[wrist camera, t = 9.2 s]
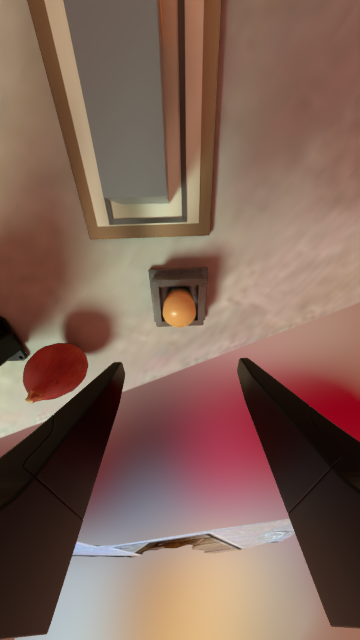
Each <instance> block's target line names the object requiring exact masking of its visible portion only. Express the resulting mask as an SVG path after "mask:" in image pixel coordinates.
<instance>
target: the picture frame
mask: <svg viewBox="0 0 360 640" xmlns="http://www.w3.org/2000/svg"><path fill="white" fill-rule="evenodd" d="M27 1H28V5H29V9H30V13H31V16H32V20H33V24H34V28H35V32H36V35H37V39H38V43H39V47H40V51H41V54H42V58H43V62H44V66H45V69H46V73H47V77H48V81H49V85H50V88H51V92H52V96H53V100H54V104H55V107H56V111H57V115H58V119H59V123H60V126H61V130H62V134H63V138H64V141H65V145H66V149H67V153H68V157H69V160H70V164H71V168H72V172H73V176H74V179H75V183H76V187H77V191H78V195H79V198H80V202H81V206H82V210H83V213H84V217H85V221H86V225H87V229H88V232H89V236H90V239H117V238H146V237H176V236H205V235H209V234H210V214H211V194H212V174H213V154H214V135H215V115H216V95H217V75H218V55H219V35H220V15H221V0H161V6H162V29H163V44H162V49H163V72H164V95H165V118H166V141H167V163H168V186H169V203H168V204H127V205H122V204H119V203H116V202H114V201H111V200H108V199H106V198H104V197H103V192H102V188H101V183H100V178H99V173H98V168H97V163H96V158H95V153H94V148H93V143H92V138H91V133H90V128H89V123H88V118H87V113H86V108H85V103H84V98H83V93H82V88H81V83H80V78H79V73H78V68H77V63H76V58H75V53H74V48H73V43H72V38H71V33H70V28H69V23H68V19H67V14H66V9H65V4H64V0H27Z"/></svg>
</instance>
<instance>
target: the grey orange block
mask: <svg viewBox="0 0 360 640" xmlns="http://www.w3.org/2000/svg"><path fill="white" fill-rule="evenodd" d="M64 4H65V9H66V14H67V19H68V23H69V28H70V33H71V38H72V43H73V48H74V53H75V58H76V63H77V68H78V73H79V78H80V83H81V88H82V93H83V98H84V103H85V108H86V113H87V118H88V123H89V128H90V133H91V138H92V143H93V148H94V153H95V158H96V163H97V168H98V173H99V178H100V183H101V188H102V192H103V197H104V198H106V199H108V200H111V201H114V202H116V203H119V204H122V205H127V204H168V203H169V186H168V163H167V141H166V118H165V95H164V72H163V49H162V44H163V29H162V6H161V0H64Z"/></svg>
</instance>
